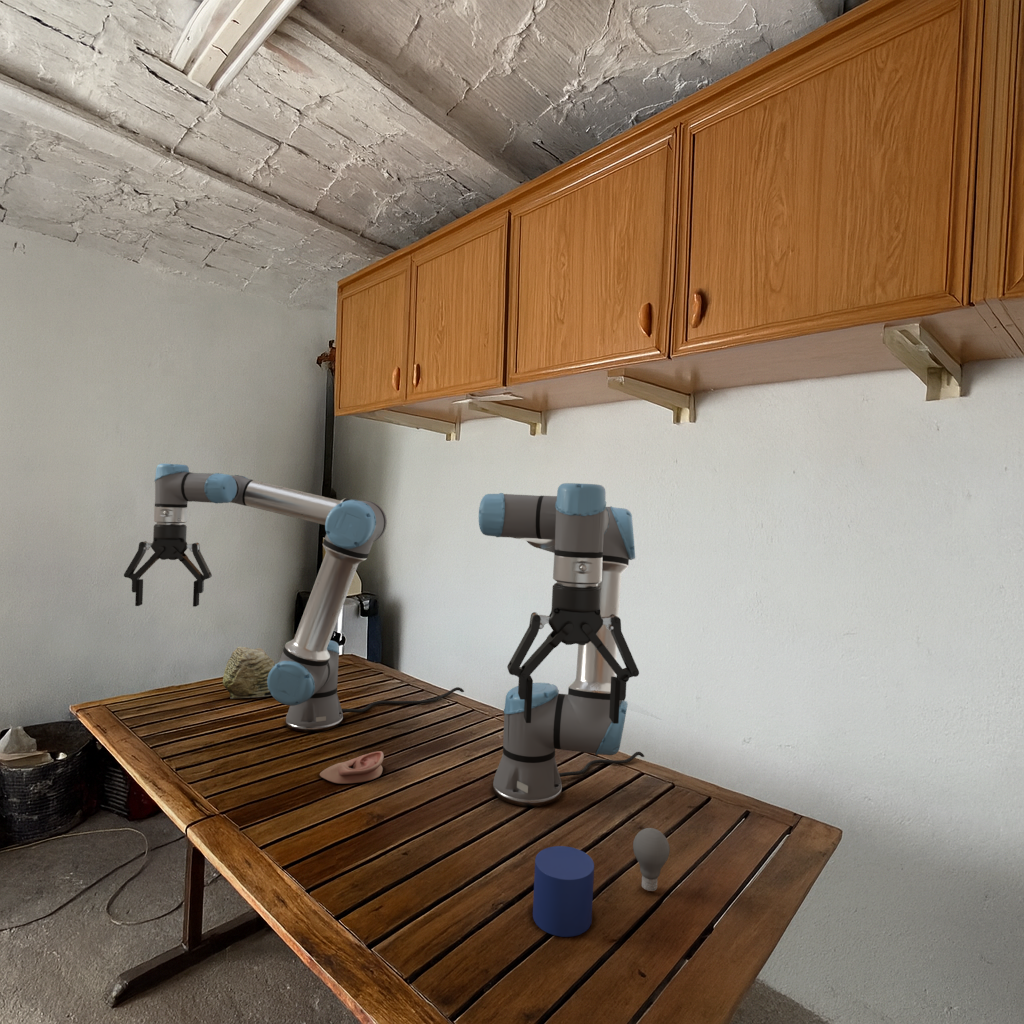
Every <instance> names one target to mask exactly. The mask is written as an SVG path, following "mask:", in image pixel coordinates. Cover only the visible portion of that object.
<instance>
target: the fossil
mask: <svg viewBox="0 0 1024 1024" xmlns="http://www.w3.org/2000/svg"><path fill="white" fill-rule="evenodd" d="M275 664H276V663H275V662H274V660H273V659H272V658H271V657H270V656H269V655H268V654H267V653H266V652H265V650H264V649H263V648H260V647H258V648H251V647H247V646H246V647H245V646H238V647H237V648H236V649H235V650H233V651H232V653H231V656H230V657H229V659H228V660H227V663H226V666H225V668H224V671H223V675H222V676H223V677H222V685H223V687H224V688H225V690H226V691H228V693H229V698H230V699H250V698H264V697H271V696H272V695H271V693H270V691H269V689H268V685H267V679H268V675H269V672H270V671H271V669H272V668H273V667H274V665H275ZM272 697H273V696H272Z"/></svg>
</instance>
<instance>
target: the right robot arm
mask: <svg viewBox="0 0 1024 1024" xmlns="http://www.w3.org/2000/svg"><path fill="white" fill-rule="evenodd" d="M606 499H607V498H606V488H605V487H604V486H603V485H602V484H596V483H577V482H564V483H561V484H559V486H558V487H557V493H556V495H533V494H532V495H531V494H514V493H513V494H512V493H504V492H500V493H487V494H484V496H482V498H481V500H480V503H479V507H478V527H479V530H480V532H481V534H482V535H484V536H486V537H496V538H511V539H517V540H521V541H526V542H527V543H528V544H529V545H530V546H532V547H534V548H536V549H540V550H543V551H546V552H549V553H553V568H552V569H553V570H552V571H553V572H552V579H553V580H554V581H555V582H556V583H554V584H553V585H552V589H551V590H552V591H551V592H552V593H551V611H550V613H549V615H546V614H545V615H544V614H540V613H537V612H536V611H534V612H532V613H531V614H530V618H529V625H528V627H527V629H526V631H525V633H524V635H523V636H522V638H521V640H520V642H519V644H518V646H517V648H516V649H515V651H514V653H513V655H512V656H511V658H510V660H509V662H508V664H507V666H506V668H507V670H508V674H509V675H511V676H515V677H517V678H518V685H517V686H514V687H512V688H510V690H509V691H507V692H506V695H505V702H504V709H503V714H504V715H503V736H502V737H503V738H502V739H503V741H502V755H501V758H500V760H499V764H498V766H497V769H496V771H495V774H494V777H493V782H492V791H493V793H494V795H495V796H496V797H497V798H498V799H499V800H501V801H502V802H505V803H508V804H512V805H515V806H519V807H520V806H521V807H543V806H547V805H550V804H552V803H555V802H557V801H558V800H559V799H560V798H561V796H562V793H563V792H562V790H563V785H562V784H563V783H562V779H561V778H563V777H570V776H580V775H583V774H585V773H586V772H587V771H588V770H589V768H590V767H591V766H593V765H596V764H597V765H598V764H611V765H624V764H628V763H630V762H632V761H633V760H634V759H635V758H637V757H638V756H640V757H641V758H645V754H644V753H643V752H641V751H636V752H634V753H633V754H632V755H630V756H629V757H628V758H626V759H622V760H621V759H620V760H619V759H618V760H617V759H593V760H591V761H589V762H587V763H586V764H585V766H584V767H583V769H580V770H575V771H565V772H560V771H559V768H558V764H557V761H556V750H561V751H570V752H578V753H586V754H593V755H594V756H598V755H602V756H615V755H616V754H617V753H619V751H620V748H621V743H622V737H623V731H624V728H625V721H626V715H627V710H628V705H629V703H628V701H627V700H626V697H627V683H628V681H629V680H630V679H631V678H633V677H634V678H635V677H638V676H639V675H640V670H639V668H638V666H637V664H636V662H635V659H634V657H633V654H632V652H631V650H630V648H629V645H628V644H627V643H628V642H627V641H626V639H625V636H624V634H623V631H622V620H621V617H620V603H621V602H620V601H621V585H622V584H621V583H622V575H623V573H624V572H625V571H626V570H627V569H628V568H629V563H630V561H632V560H635V559H636V548H635V536H634V535H635V534H634V524H633V515H632V512H631V511H630V510H629V509H627V508H624V507H614V506H611V505H610V506H607V501H606ZM546 624H548V625H549V626H550V628H551V629H552V631H551V632H550V633H549V634H548V635H547V636H546V639H545V640H544V641H543V642H542V643H541V644H540V645H539V647H537V649H536V650H535V651H534V652H533V653H532V654H531V655H530V656H529V658H528V659H527V660H526V661H524V660H525V658H526V656H527V654H528V652H529V651H530V649H531V647H532V645H533V644H534V642H535V640H536V638H537V636H538V634H539V631H540V630H542V629H544V628H545V625H546ZM561 643H563V644H564V645H565V646H571V645H577V656H576V673H575V679H574V681H573V682H572V683H570V684H569V685H568V690H567V694H566V693H559V692H560V690H559V688H558V685H556V684H554V683H553V684H552V683H549V682H534V680H533V677H532V676H531V675H532V673H533V672H535V671H536V669H537V668H538V667H539V666H540V665H541V664H542V663H543V662H544V660H546V659H547V657H548V656H549V655H550V654H551V652H553V650H554V649H555V648H557V647H559V645H560V644H561ZM618 653H619V655H620V657H621V659H622V661H623V664H624V666H625V667H623V668H622V666H621V665H620V664H619V662H618V660H617V656H618ZM523 661H524V663H523ZM522 663H523V664H522Z"/></svg>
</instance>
